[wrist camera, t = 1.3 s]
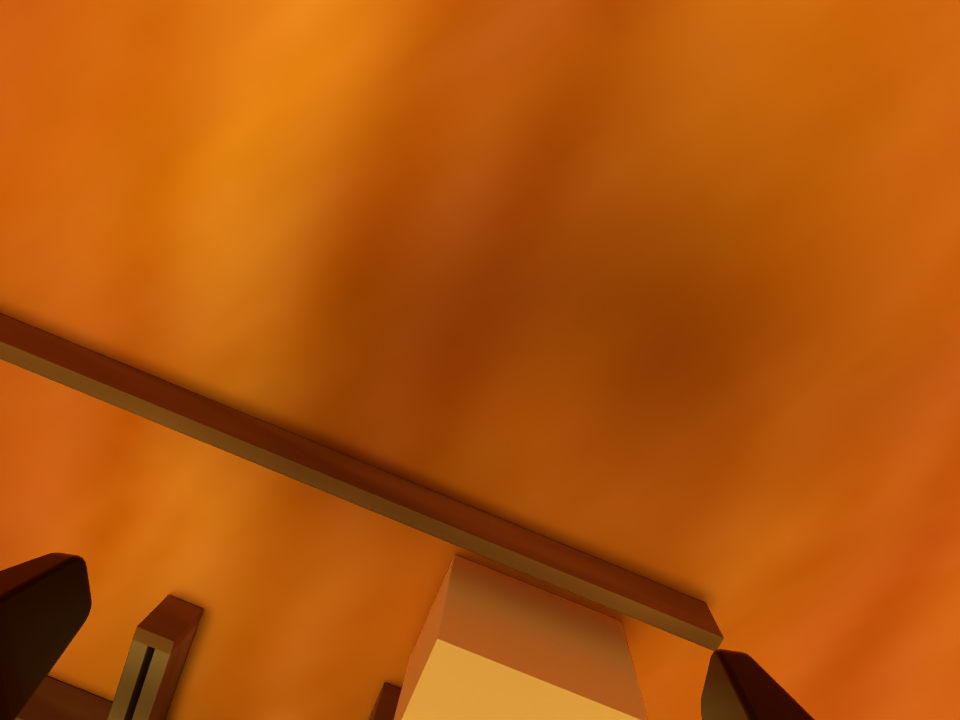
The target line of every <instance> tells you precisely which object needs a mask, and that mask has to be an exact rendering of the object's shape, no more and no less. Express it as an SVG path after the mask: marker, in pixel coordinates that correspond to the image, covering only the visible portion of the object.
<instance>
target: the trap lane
mask: <svg viewBox="0 0 960 720" xmlns="http://www.w3.org/2000/svg"><path fill="white" fill-rule="evenodd" d="M0 359H2V360H4V361H7V362H9V363H12V364H14V365H17V366H19V367H21V368H24V369H26V370H29V371H31V372H34V373H36V374H39V375H41V376H43V377H46V378H48V379H51V380H53V381H56V382H58V383H60V384H63V385H65V386H68V387H70V388H73V389H75V390H78V391H80V392H82V393H85V394H87V395H90V396H92V397H95V398H97V399H100V400H102V401H104V402H107V403H109V404H112V405H114V406H117V407H119V408H122V409H124V410H126V411H129V412H131V413H134V414H136V415H139V416H141V417H144V418H146V419H148V420H151V421H153V422H156V423H158V424H161V425H163V426H166V427H168V428H170V429H173V430H175V431H178V432H180V433H183V434H185V435H188V436H190V437H192V438H195V439H197V440H200V441H202V442H205V443H207V444H210V445H212V446H214V447H217V448H219V449H222V450H224V451H227V452H229V453H232V454H234V455H236V456H239V457H241V458H244V459H246V460H249V461H251V462H254V463H256V464H258V465H261V466H263V467H266V468H268V469H271V470H273V471H276V472H278V473H280V474H283V475H285V476H288V477H290V478H293V479H295V480H297V481H300V482H302V483H305V484H307V485H310V486H312V487H315V488H317V489H319V490H322V491H324V492H327V493H329V494H332V495H334V496H337V497H339V498H341V499H344V500H346V501H349V502H351V503H354V504H356V505H359V506H361V507H363V508H366V509H368V510H371V511H373V512H376V513H378V514H381V515H383V516H385V517H388V518H390V519H393V520H395V521H398V522H400V523H403V524H405V525H407V526H410V527H412V528H415V529H417V530H420V531H422V532H425V533H427V534H429V535H432V536H434V537H437V538H439V539H442V540H444V541H447V542H449V543H451V544H454V545H456V546H459V547H461V548H464V549H466V550H469V551H471V552H473V553H476V554H478V555H481V556H483V557H486V558H488V559H491V560H493V561H495V562H498V563H500V564H503V565H505V566H508V567H510V568H513V569H515V570H517V571H520V572H522V573H525V574H527V575H530V576H532V577H534V578H537V579H539V580H542V581H544V582H547V583H549V584H552V585H554V586H556V587H559V588H561V589H564V590H566V591H569V592H571V593H574V594H576V595H578V596H581V597H583V598H586V599H588V600H591V601H593V602H596V603H598V604H600V605H603V606H605V607H608V608H610V609H613V610H615V611H618V612H620V613H622V614H625V615H627V616H630V617H632V618H635V619H637V620H640V621H642V622H644V623H647V624H649V625H652V626H654V627H657V628H659V629H662V630H664V631H666V632H669V633H671V634H674V635H676V636H679V637H681V638H684V639H686V640H688V641H691V642H693V643H696V644H698V645H701V646H703V647H706V648H708V649H710V650H713V651H716V650H717V649H718V647H719V645H720V643H721V642H722V640H723V638H724V637H723V636H722V634H721V632H720V630H719V628H718V626H717V624H716V622H715V620H714V618H713V616H712V614H711V612H710V610H709V609H708V607H707V605H706V603H704V602H702V601H699V600H697V599H695V598H692V597H690V596H687V595H685V594H682V593H680V592H677V591H675V590H673V589H670V588H668V587H665V586H663V585H660V584H658V583H656V582H653V581H651V580H648V579H646V578H643V577H641V576H638V575H636V574H634V573H631V572H629V571H626V570H624V569H621V568H619V567H617V566H614V565H612V564H609V563H607V562H604V561H602V560H600V559H597V558H595V557H592V556H590V555H587V554H585V553H582V552H580V551H578V550H575V549H573V548H570V547H568V546H565V545H563V544H561V543H558V542H556V541H553V540H551V539H548V538H546V537H544V536H541V535H539V534H536V533H534V532H531V531H529V530H526V529H524V528H522V527H519V526H517V525H514V524H512V523H509V522H507V521H505V520H502V519H500V518H497V517H495V516H492V515H490V514H487V513H485V512H483V511H480V510H478V509H475V508H473V507H470V506H468V505H466V504H463V503H461V502H458V501H456V500H453V499H451V498H449V497H446V496H444V495H441V494H439V493H436V492H434V491H431V490H429V489H427V488H424V487H422V486H419V485H417V484H414V483H412V482H410V481H407V480H405V479H402V478H400V477H397V476H395V475H392V474H390V473H388V472H385V471H383V470H380V469H378V468H375V467H373V466H371V465H368V464H366V463H363V462H361V461H358V460H356V459H354V458H351V457H349V456H346V455H344V454H341V453H339V452H336V451H334V450H332V449H329V448H327V447H324V446H322V445H319V444H317V443H315V442H312V441H310V440H307V439H305V438H302V437H300V436H297V435H295V434H293V433H290V432H288V431H285V430H283V429H280V428H278V427H276V426H273V425H271V424H268V423H266V422H263V421H261V420H259V419H256V418H254V417H251V416H249V415H246V414H244V413H241V412H239V411H237V410H234V409H232V408H229V407H227V406H224V405H222V404H220V403H217V402H215V401H212V400H210V399H207V398H205V397H202V396H200V395H198V394H195V393H193V392H190V391H188V390H185V389H183V388H181V387H178V386H176V385H173V384H171V383H168V382H166V381H164V380H161V379H159V378H156V377H154V376H151V375H149V374H146V373H144V372H142V371H139V370H137V369H134V368H132V367H129V366H127V365H125V364H122V363H120V362H117V361H115V360H112V359H110V358H107V357H105V356H103V355H100V354H98V353H95V352H93V351H90V350H88V349H86V348H83V347H81V346H78V345H76V344H73V343H71V342H69V341H66V340H64V339H61V338H59V337H56V336H54V335H51V334H49V333H47V332H44V331H42V330H39V329H37V328H34V327H32V326H30V325H27V324H25V323H22V322H20V321H17V320H15V319H13V318H10V317H8V316H5V315H3V314H0ZM202 610H203V609H202V608H199V607H197V606H194V605H192V604H189V603H187V602H184V601H182V600H179V599H177V598H175V597H172V596H170V595H168V596H167V597H166V598H165V599H164V600H163V601H162V602H161V603H160V604H159V605H158V606H157V607H156V608H155V609H154V610H153V611H152V612H151V613H150V614H149V615H148V616H147V617H146V618H145V619H144V620H143V621H142V622H141V623H140V624H139V625H138V626H137V628H136V631H135V634H134V638H133V641H132V644H131V647H130V650H129V653H128V657H127V660H126V663H125V666H124V669H123V672H122V675H121V679H120V682H119V685H118V688H117V691H116V694H115V698H114V701H113V703H112V702H110V701H107V700H105V699H102V698H100V697H97V696H95V695H92V694H90V693H87V692H85V691H82V690H80V689H77V688H75V687H72V686H70V685H67V684H65V683H62V682H60V681H57V680H55V679H52V678H50V677H47V676H46V677H45V679H44V680H43V682H42V683H41V684H40V686H39V687H38V689H37V690H36V691H35V693H34V694H33V696H32V697H31V698H30V700H29V701H28V703H27V704H26V705H25V707H24V708H23V709H22V711H21V712H20V713H19V715H18V716H17V718H16V719H15V720H165V718H166V715H167V712H168V709H169V706H170V703H171V700H172V697H173V694H174V692H175V689H176V686H177V683H178V680H179V677H180V674H181V671H182V668H183V665H184V662H185V659H186V657H187V654H188V651H189V648H190V645H191V642H192V639H193V636H194V633H195V630H196V627H197V625H198V622H199V619H200V616H201V613H202ZM400 693H401V689H399V688H397V687H394V686H392V685H390V684H387V683H385V684H384V686H383V688H382V691H381V693H380V695H379V697H378V700H377V702H376V704H375V707H374V709H373V711H372V713H371V716H370V718H369V720H394V716H395V712H396V708H397V705H398V701H399V697H400Z"/></svg>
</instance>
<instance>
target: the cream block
mask: <svg viewBox="0 0 960 720" xmlns="http://www.w3.org/2000/svg"><path fill="white" fill-rule="evenodd" d="M394 720H648V718H647V714H646V710H645V707H644V703H643V699H642V696H641V692H640V688H639V684H638V681H637V677H636V673H635V670H634V666H633V662H632V659H631V655H630V651H629V647H628V644H627V640H626V636H625V633H624V629H623V625H622V622H621V621H619V620H616V619H614V618H611V617H609V616H606V615H604V614H601V613H599V612H596V611H594V610H591V609H589V608H586V607H584V606H581V605H579V604H577V603H574V602H572V601H569V600H567V599H564V598H562V597H559V596H557V595H554V594H552V593H549V592H547V591H544V590H542V589H539V588H537V587H534V586H532V585H529V584H527V583H524V582H522V581H519V580H517V579H514V578H512V577H509V576H507V575H504V574H502V573H499V572H497V571H494V570H492V569H490V568H487V567H485V566H482V565H480V564H477V563H475V562H472V561H470V560H467V559H465V558H462V557H460V556H457V555H454V557H453V559H452V562H451V564H450V566H449V568H448V571H447V573H446V575H445V578H444V580H443V582H442V585H441V587H440V589H439V591H438V594H437V596H436V598H435V601H434V603H433V605H432V608H431V610H430V612H429V615H428V617H427V619H426V621H425V624H424V626H423V628H422V631H421V633H420V635H419V638H418V640H417V642H416V644H415V647H414V649H413V651H412V654H411V656H410V659H409V662H408V666H407V670H406V674H405V678H404V682H403V685H402V689H401V693H400V697H399V701H398V705H397V708H396V712H395V716H394Z"/></svg>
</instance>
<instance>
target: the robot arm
mask: <svg viewBox="0 0 960 720" xmlns="http://www.w3.org/2000/svg"><path fill="white" fill-rule="evenodd" d="M91 604H92V602H91V593H90V586H89V579H88V572H87V566H86V562H85V561H84V559H83V558H82V557H80V556H77V555H71V554H64V553H50V554H47V555H44V556H41V557H38V558H36V559H33V560H30V561H27V562H24V563H22V564H19V565H16V566H13V567H10V568H8V569H5V570H2V571H0V720H15V719H16V718H17V716H18V715H19V713H20V712H21V711H22V709H23V708H24V707H25V705H26V704H27V703H28V701H29V700H30V698H31V697H32V696H33V694H34V693H35V691H36V690H37V689H38V687H39V686H40V684H41V683H42V682H43V680H44V679H45V677H46V676H47V675H48V673H49V672H50V670H51V669H52V668H53V666H54V665H55V663H56V662H57V660H58V659H59V658H60V656H61V655H62V653H63V652H64V651H65V649H66V648H67V646H68V645H69V644H70V642H71V641H72V639H73V638H74V637H75V635H76V634H77V632H78V631H79V630H80V628H81V627H82V625H83V624H84V623H85V621H86V619H87V617H88V615H89V613H90V609H91ZM701 716H702V720H815V719H813V718H812V717H811V716H810V715H809V714H808V713H807V712H806V711H805V710H804V709H803V708H802V707H801V706H800V705H799V704H798V703H797V702H796V701H795V700H794V699H793V698H792V697H791V696H790V695H789V694H788V693H787V692H786V691H785V690H784V689H783V688H782V687H781V686H780V685H779V684H778V683H777V682H776V681H775V680H774V679H773V678H772V677H771V676H770V675H769V674H768V673H767V672H766V671H765V670H764V669H763V668H762V667H761V666H760V665H759V664H758V663H757V662H756V661H755V660H754V659H753V658H752V657H750V656H749V655H748V654H746V653H743V652H736V651H730V650H723V649H718V650H716V651H714V652H713V654H712V656H711V659H710V663H709V668H708V672H707V676H706V680H705V684H704V689H703V693H702V698H701Z"/></svg>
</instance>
